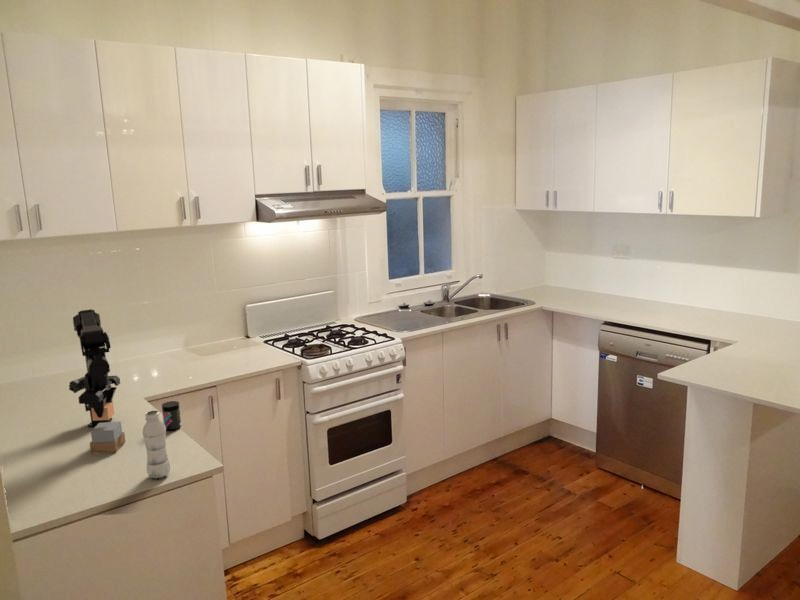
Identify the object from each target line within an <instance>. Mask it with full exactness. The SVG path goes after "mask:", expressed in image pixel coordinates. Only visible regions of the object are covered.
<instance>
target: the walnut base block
mask: <svg viewBox="0 0 800 600" xmlns="http://www.w3.org/2000/svg"><path fill="white" fill-rule="evenodd" d="M125 435H126V434H125V431H122V434H121V435H120V436H119V437H118V439H117V440H116V441H115V442H101V443H92V441H91V442H90V443H89V448H90V454H91V455H95V454H94V453H107V454H117V453H118V452H119V451H120V450H121V449H122V447H123V446H124V445H125V444H126V443H125V442H126V436H125ZM124 443H125V444H124ZM119 449H120V450H119ZM118 450H119V451H118ZM117 451H118V452H117ZM116 452H117V453H116Z"/></svg>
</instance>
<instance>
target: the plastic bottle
mask: <svg viewBox="0 0 800 600" xmlns="http://www.w3.org/2000/svg"><path fill="white" fill-rule="evenodd" d="M160 418H161V417H160V411H159V410H149V411H147V412H146V413H145V421H146V422H145V424H144V426H143V428H142V436H143V441H144V443H145V448H146V461H147V463H146V473H147V476H148V477H149V478H150V479H152V478H153V480H157V478H159V479H162V478H164V476H165V477H166V476H168V475H169V473H170V471H171V465H170V461H169V457H168V453H167V447H166V446H167V445H166V444H167V443H166V442H167V441H166V435H167V431H166V427H165V425H164V422H163V421H161V420H160ZM167 474H168V475H167ZM154 478H155V479H154Z"/></svg>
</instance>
